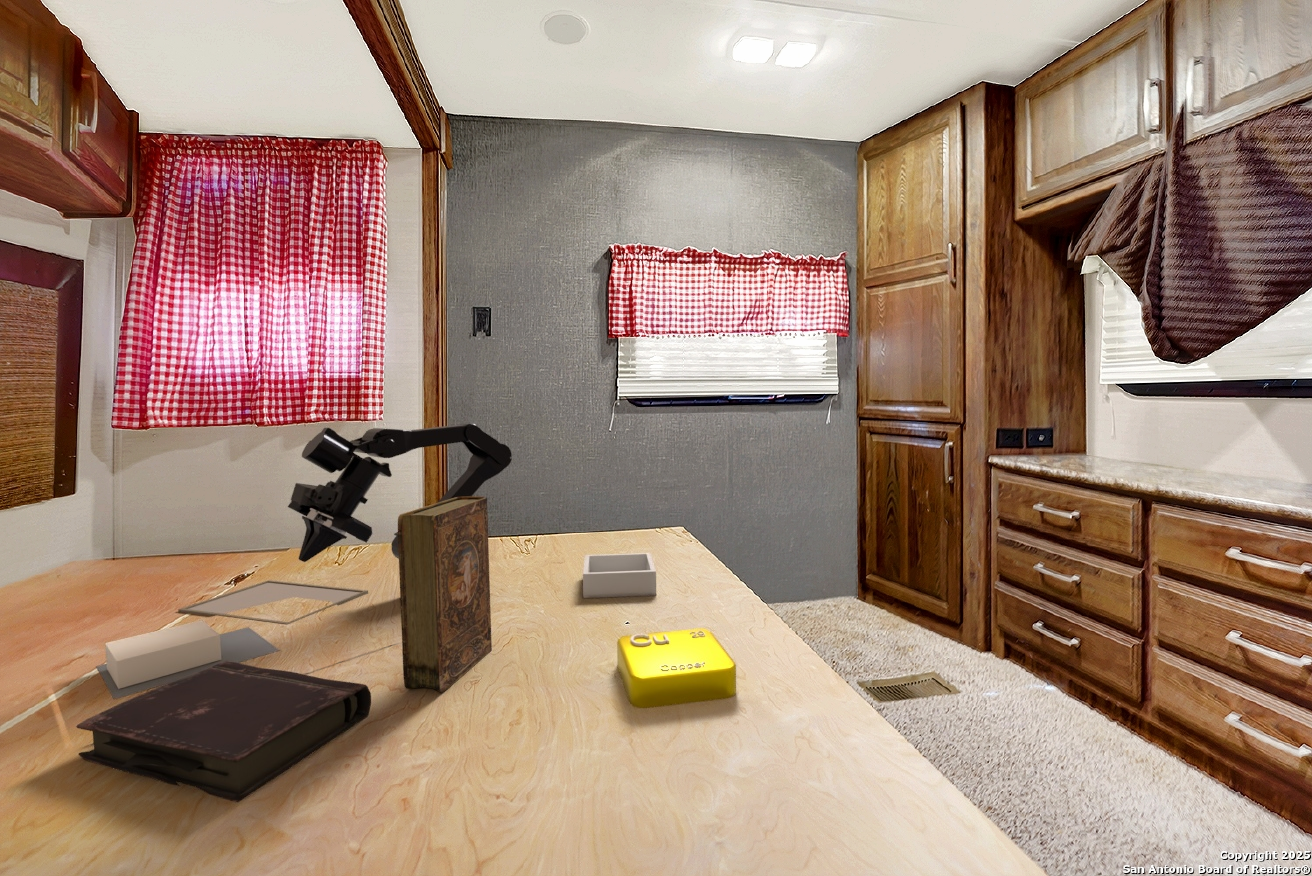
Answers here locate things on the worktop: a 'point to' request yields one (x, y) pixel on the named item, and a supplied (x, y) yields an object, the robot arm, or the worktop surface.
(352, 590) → the picture frame
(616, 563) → the dish
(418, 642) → the book
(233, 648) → the mat
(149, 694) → the diary
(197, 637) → the white rectangular block
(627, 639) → the element tile
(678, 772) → the worktop surface
